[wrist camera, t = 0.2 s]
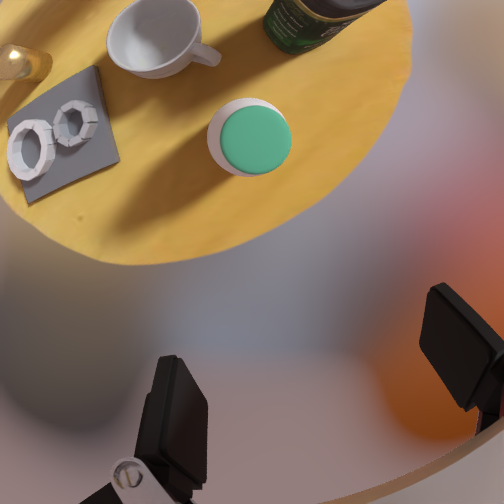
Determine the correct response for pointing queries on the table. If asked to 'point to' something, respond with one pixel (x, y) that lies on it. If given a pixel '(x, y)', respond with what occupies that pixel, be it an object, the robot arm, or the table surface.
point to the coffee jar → (311, 21)
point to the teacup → (158, 38)
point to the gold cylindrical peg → (24, 64)
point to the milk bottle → (248, 137)
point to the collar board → (67, 155)
